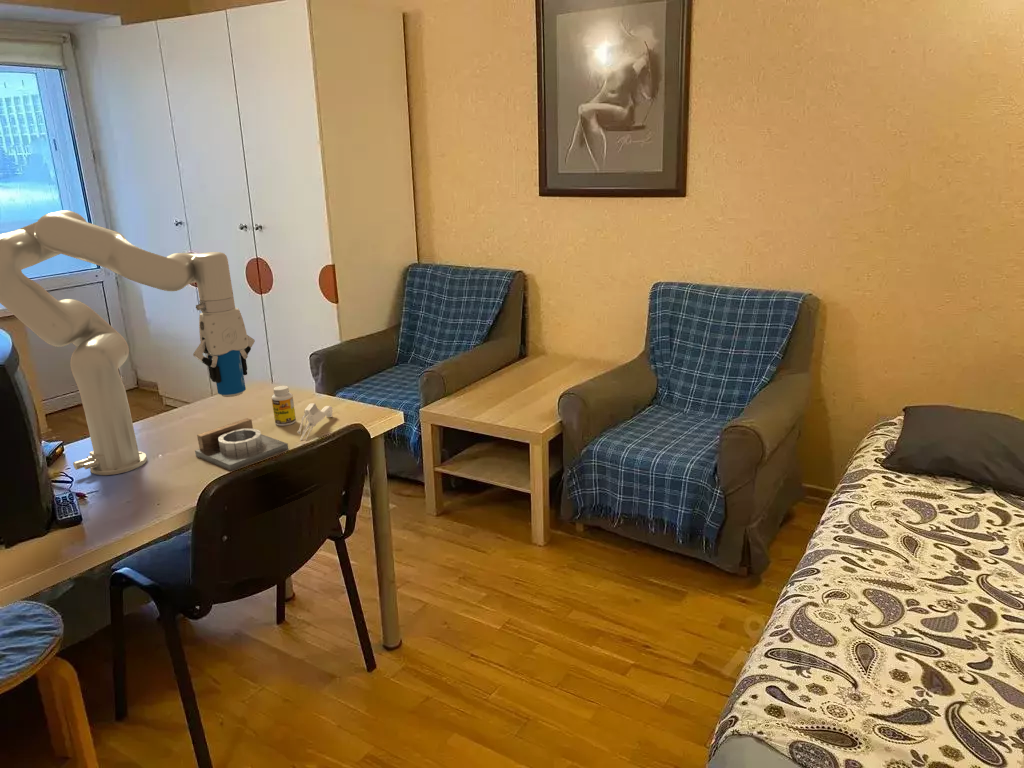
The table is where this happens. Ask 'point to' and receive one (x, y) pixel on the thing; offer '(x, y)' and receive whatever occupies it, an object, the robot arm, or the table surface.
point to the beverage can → (230, 374)
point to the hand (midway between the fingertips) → (229, 377)
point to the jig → (237, 445)
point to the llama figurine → (314, 417)
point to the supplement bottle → (283, 406)
